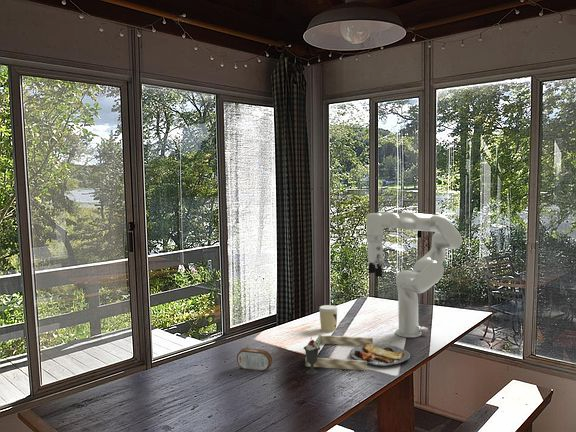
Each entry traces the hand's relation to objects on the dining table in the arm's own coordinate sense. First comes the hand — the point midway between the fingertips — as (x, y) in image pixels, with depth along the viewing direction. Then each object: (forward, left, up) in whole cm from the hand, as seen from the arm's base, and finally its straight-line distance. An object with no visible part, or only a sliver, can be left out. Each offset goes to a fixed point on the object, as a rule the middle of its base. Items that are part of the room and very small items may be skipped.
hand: (375, 274), depth 232 cm
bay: (+14, +25, -31) cm, 42 cm away
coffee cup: (+25, -11, -32) cm, 42 cm away
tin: (+46, +48, -32) cm, 73 cm away
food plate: (-3, +24, -32) cm, 40 cm away
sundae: (+22, +47, -32) cm, 60 cm away
